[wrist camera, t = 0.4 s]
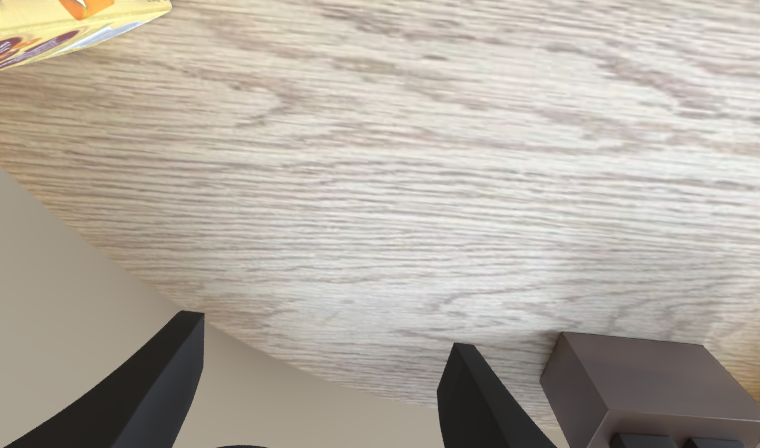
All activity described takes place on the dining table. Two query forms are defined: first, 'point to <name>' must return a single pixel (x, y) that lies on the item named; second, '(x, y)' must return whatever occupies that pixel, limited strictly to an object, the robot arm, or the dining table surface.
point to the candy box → (67, 25)
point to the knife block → (646, 395)
